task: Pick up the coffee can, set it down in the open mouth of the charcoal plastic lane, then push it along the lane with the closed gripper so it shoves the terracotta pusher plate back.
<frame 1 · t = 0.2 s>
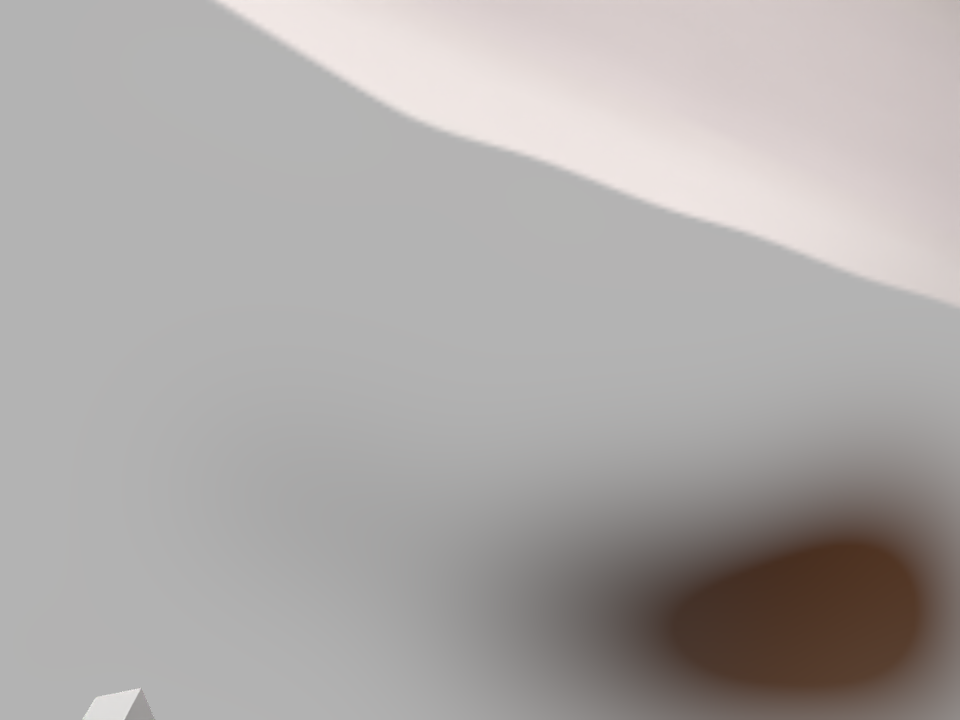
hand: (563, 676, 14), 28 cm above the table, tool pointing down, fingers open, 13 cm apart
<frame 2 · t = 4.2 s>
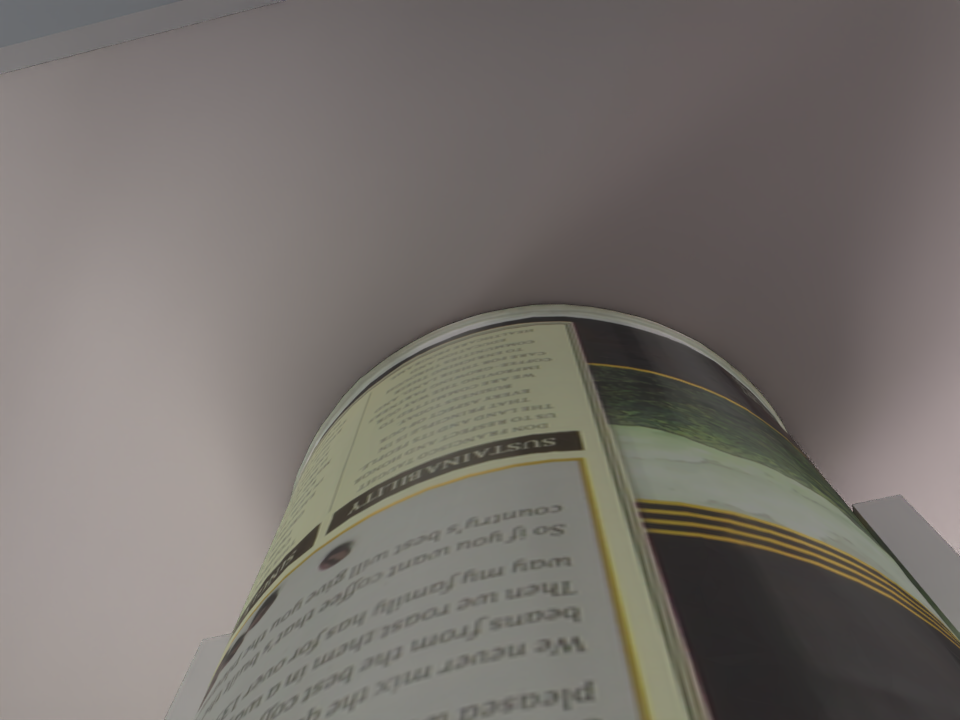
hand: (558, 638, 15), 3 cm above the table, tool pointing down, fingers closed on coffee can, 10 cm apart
coffee can: (545, 547, 18), on the table, touching gripper
when the fingers open (4 cm above the table, at t = 12.3 s): coffee can drops 1 cm, on the table.
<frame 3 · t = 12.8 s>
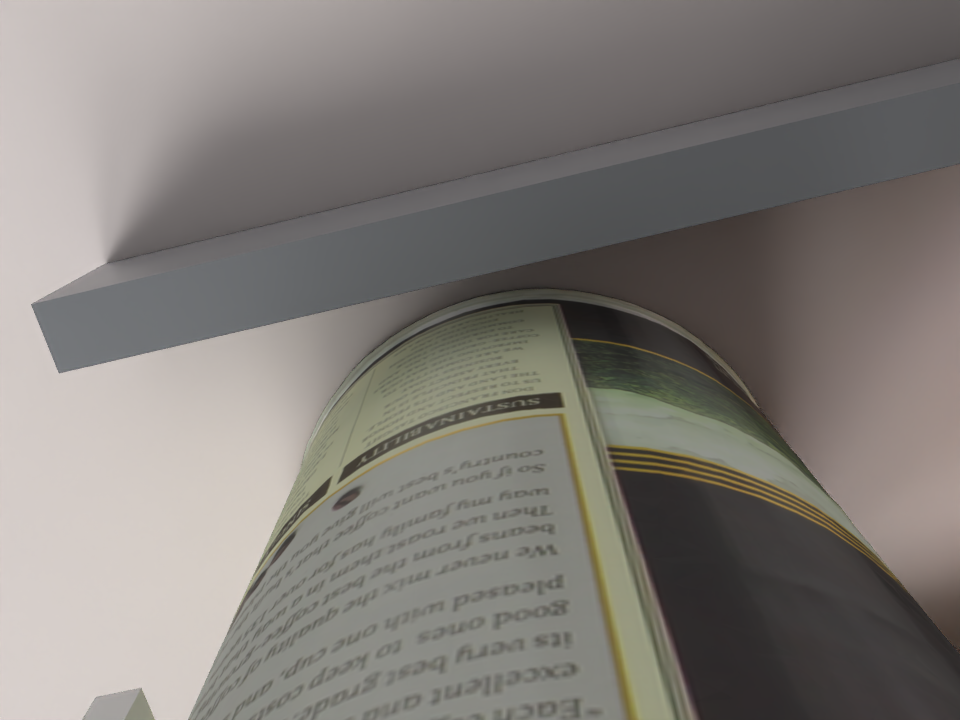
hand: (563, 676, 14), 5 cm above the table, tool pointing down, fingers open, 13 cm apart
coffee can: (535, 515, 19), on the table
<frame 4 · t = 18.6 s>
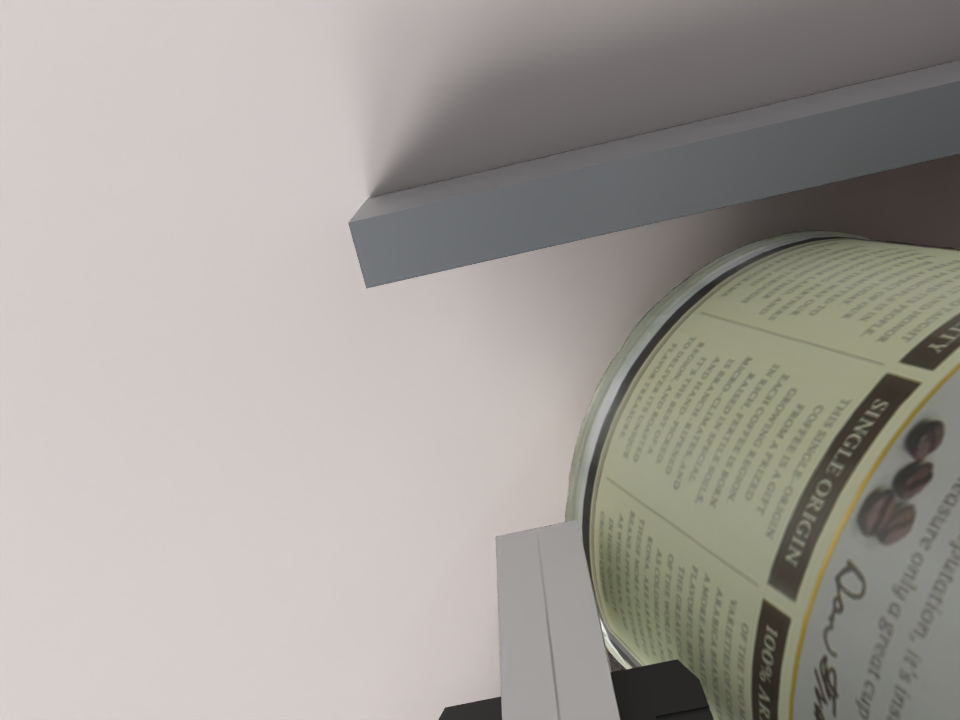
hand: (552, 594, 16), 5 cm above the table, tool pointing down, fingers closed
coffee can: (780, 473, 19), point 2 cm above the table, touching gripper, hand
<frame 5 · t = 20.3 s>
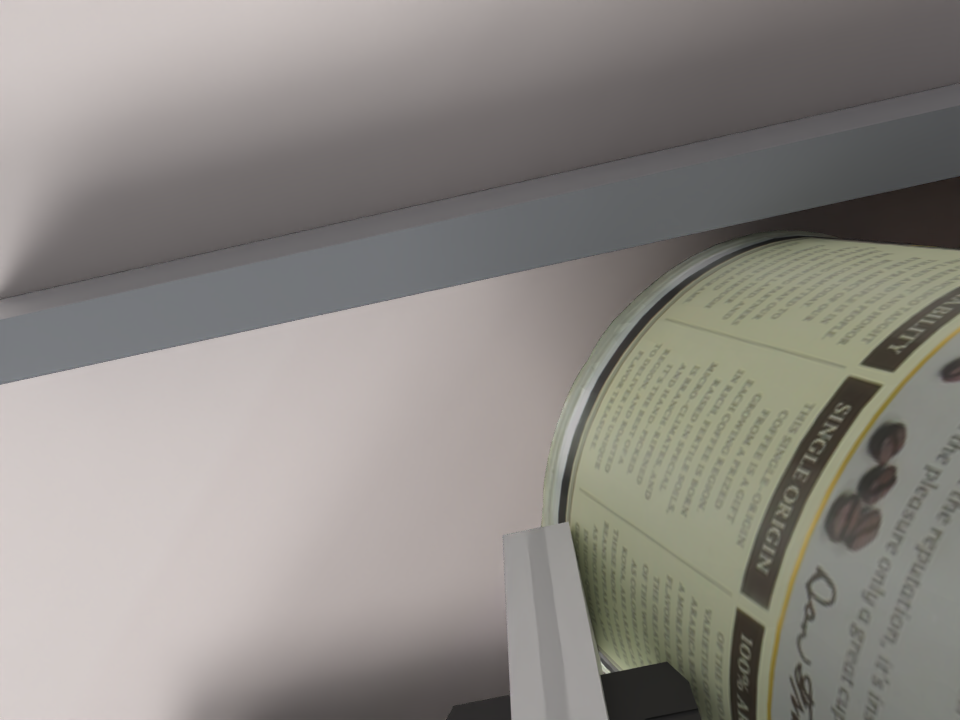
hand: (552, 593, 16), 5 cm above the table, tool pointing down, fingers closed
lane: (812, 444, 21), on the table
coffee can: (754, 472, 19), point 2 cm above the table, touching gripper, hand
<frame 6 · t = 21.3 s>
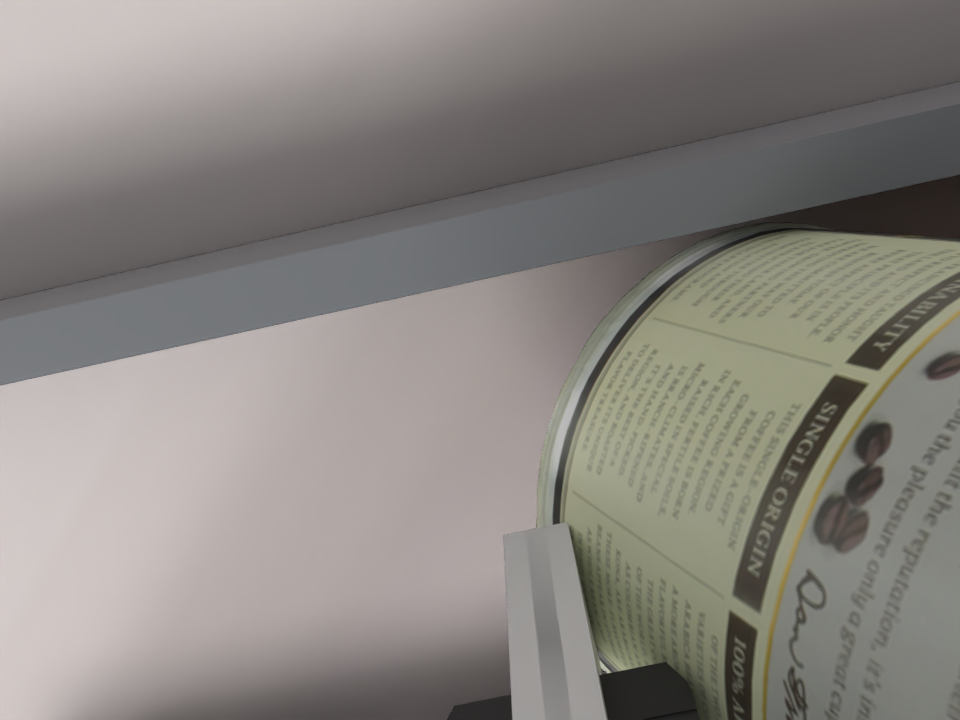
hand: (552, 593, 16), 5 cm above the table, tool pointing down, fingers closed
lane: (666, 473, 21), on the table
coffee can: (749, 466, 19), point 2 cm above the table, touching gripper, hand, pusher
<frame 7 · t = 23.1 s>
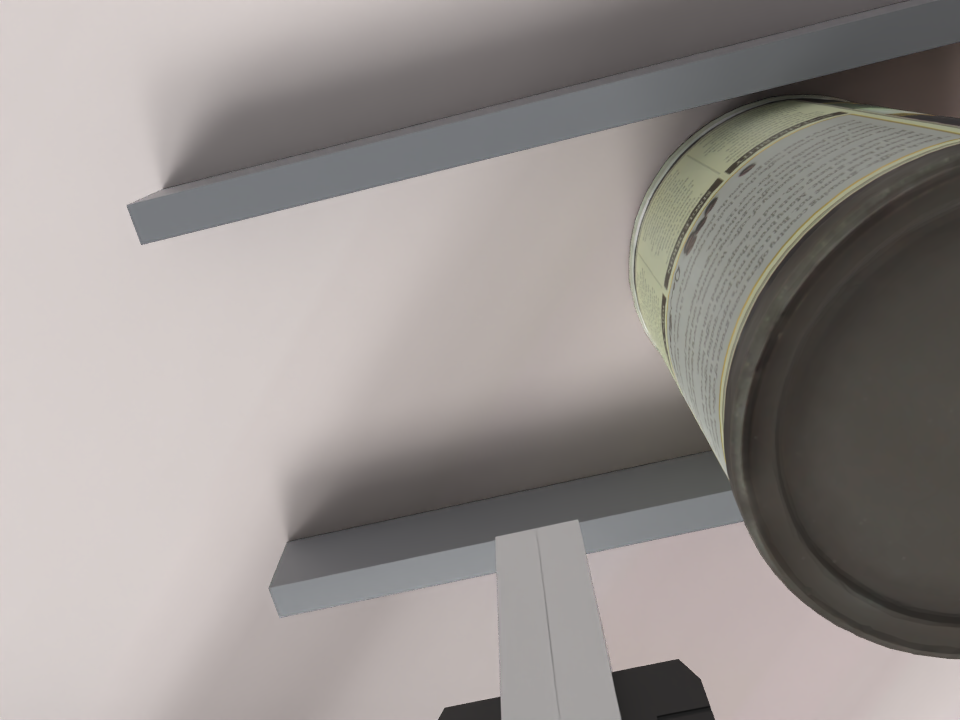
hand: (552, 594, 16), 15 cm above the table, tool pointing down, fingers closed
lane: (723, 280, 30), on the table
coffee can: (780, 253, 30), on the table
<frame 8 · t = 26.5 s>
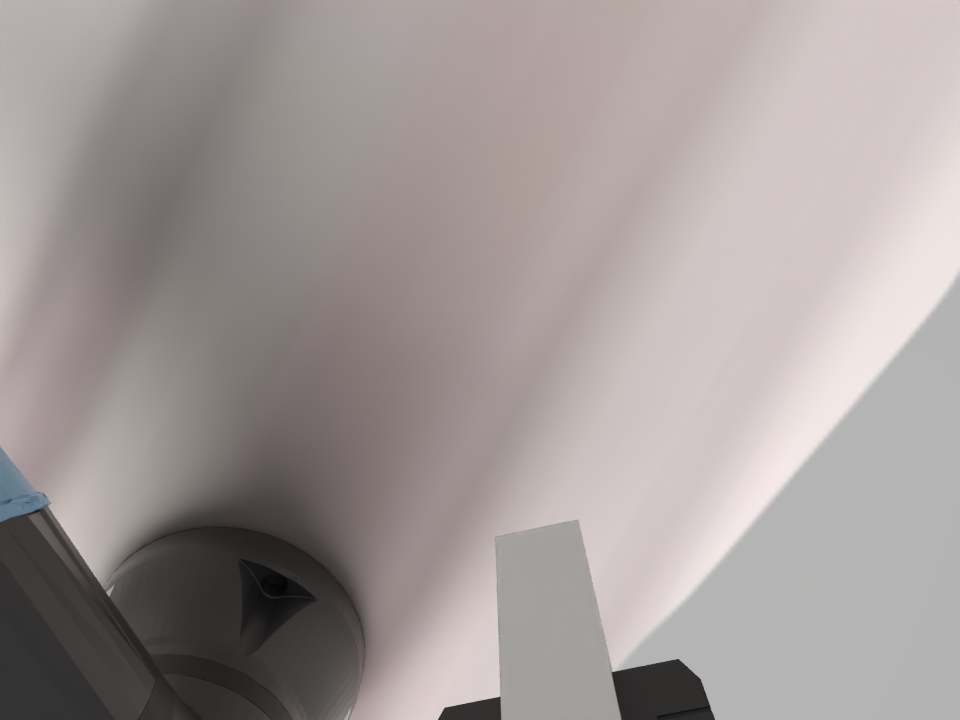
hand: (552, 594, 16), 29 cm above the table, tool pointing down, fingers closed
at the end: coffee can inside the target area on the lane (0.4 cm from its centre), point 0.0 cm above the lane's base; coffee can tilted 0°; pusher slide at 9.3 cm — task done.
